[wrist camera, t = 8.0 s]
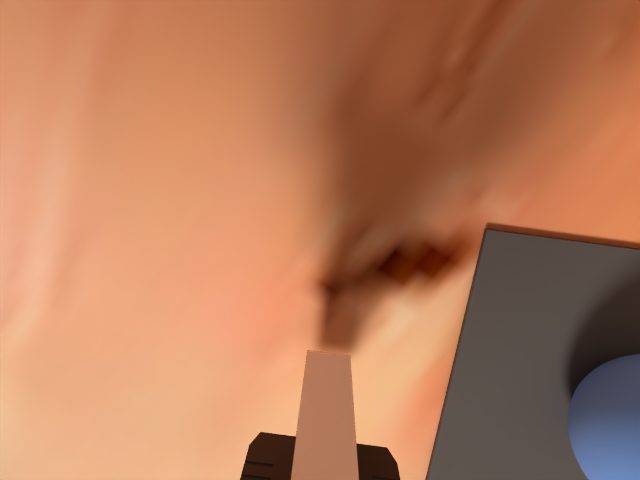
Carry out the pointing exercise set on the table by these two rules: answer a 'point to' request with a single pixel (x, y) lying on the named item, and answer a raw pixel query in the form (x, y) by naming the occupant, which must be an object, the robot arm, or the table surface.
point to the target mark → (532, 354)
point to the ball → (608, 421)
